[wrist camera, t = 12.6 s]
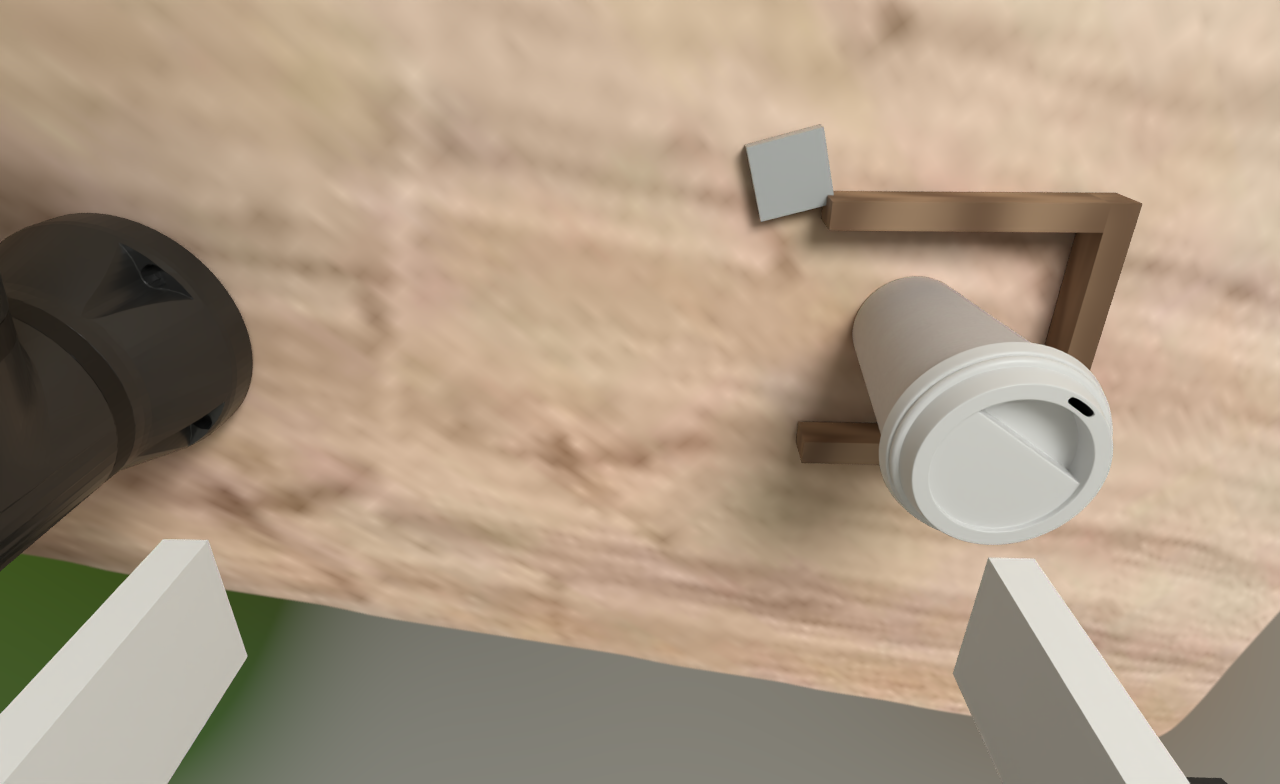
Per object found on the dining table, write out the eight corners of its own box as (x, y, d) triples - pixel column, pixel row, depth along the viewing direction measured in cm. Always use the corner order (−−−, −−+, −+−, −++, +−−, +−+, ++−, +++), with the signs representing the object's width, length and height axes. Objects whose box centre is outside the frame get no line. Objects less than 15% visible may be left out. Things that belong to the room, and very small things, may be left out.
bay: (795, 441, 47) (801, 462, 45) (824, 191, 39) (832, 201, 37) (1040, 446, 46) (1058, 468, 44) (1115, 192, 39) (1142, 203, 37)
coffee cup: (1016, 351, 43) (1165, 501, 30) (868, 424, 46) (945, 590, 33) (953, 217, 40) (1091, 319, 27) (797, 304, 43) (851, 436, 29)
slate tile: (759, 217, 40) (760, 221, 39) (744, 144, 39) (746, 147, 38) (831, 198, 40) (834, 203, 39) (820, 124, 38) (823, 126, 37)
